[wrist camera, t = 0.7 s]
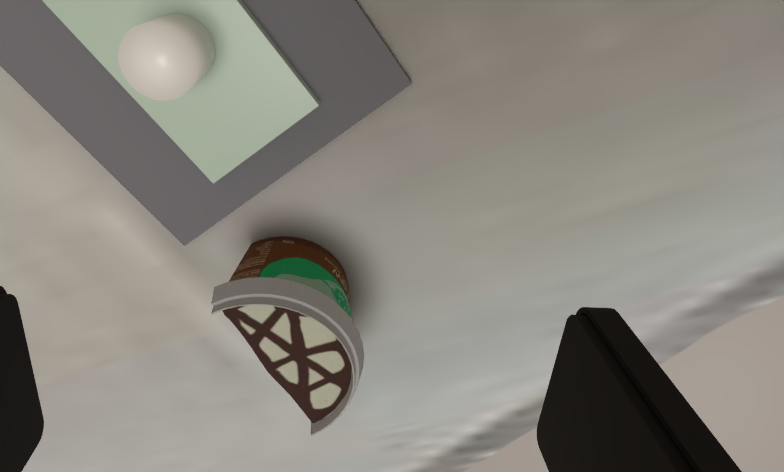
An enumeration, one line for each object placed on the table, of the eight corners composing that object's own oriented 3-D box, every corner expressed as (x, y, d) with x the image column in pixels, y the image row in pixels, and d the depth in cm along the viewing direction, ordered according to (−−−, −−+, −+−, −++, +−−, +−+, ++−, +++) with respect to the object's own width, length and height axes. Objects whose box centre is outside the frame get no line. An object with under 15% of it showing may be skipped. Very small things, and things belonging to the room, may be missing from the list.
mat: (191, -240, 29) (188, -243, 29) (411, 81, 37) (411, 83, 37) (-55, 3, 34) (-62, 4, 34) (186, 242, 42) (184, 245, 41)
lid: (147, -122, 31) (106, -132, 26) (320, 101, 37) (313, 126, 32) (36, -17, 33) (-21, -9, 28) (216, 178, 39) (195, 212, 34)
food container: (391, 316, 46) (397, 407, 37) (324, 346, 47) (315, 441, 38) (312, 191, 41) (298, 262, 32) (239, 228, 42) (205, 306, 33)
